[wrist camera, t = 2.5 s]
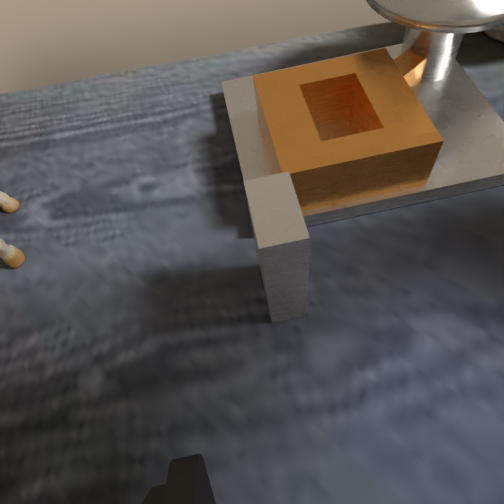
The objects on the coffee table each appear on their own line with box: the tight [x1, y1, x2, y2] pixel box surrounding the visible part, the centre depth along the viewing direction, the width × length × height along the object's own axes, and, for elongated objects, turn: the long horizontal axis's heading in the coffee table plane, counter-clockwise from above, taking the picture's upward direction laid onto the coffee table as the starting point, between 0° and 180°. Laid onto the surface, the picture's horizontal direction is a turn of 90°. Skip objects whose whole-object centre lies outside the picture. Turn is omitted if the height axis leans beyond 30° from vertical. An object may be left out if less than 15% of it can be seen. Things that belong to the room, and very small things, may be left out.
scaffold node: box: [221, 0, 504, 227], centre depth 30 cm, size 26×20×16 cm
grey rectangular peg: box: [244, 171, 310, 323], centre depth 25 cm, size 2×4×10 cm, turn 11°
